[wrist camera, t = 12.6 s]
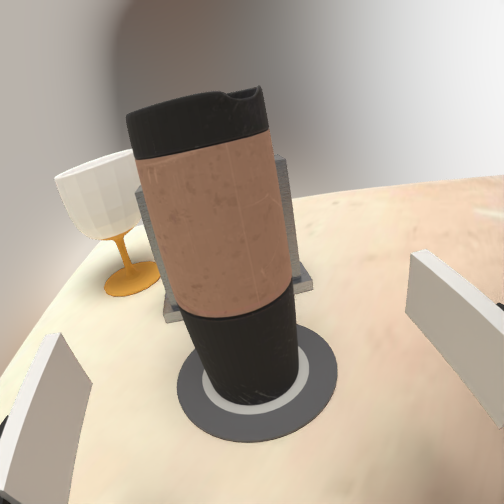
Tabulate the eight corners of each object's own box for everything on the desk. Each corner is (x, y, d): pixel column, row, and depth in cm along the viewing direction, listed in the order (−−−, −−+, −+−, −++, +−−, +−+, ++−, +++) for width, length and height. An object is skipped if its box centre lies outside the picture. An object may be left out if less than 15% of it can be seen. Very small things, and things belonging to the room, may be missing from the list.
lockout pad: (369, 364, 23) (370, 360, 23) (242, 476, 17) (241, 473, 17) (263, 307, 33) (262, 303, 33) (153, 374, 26) (151, 370, 26)
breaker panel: (301, 270, 38) (285, 151, 32) (315, 292, 34) (300, 159, 27) (168, 300, 37) (131, 186, 31) (166, 327, 32) (121, 199, 26)
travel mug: (208, 347, 28) (142, 113, 19) (293, 331, 28) (255, 88, 19) (207, 415, 21) (101, 119, 12) (312, 397, 21) (273, 80, 12)
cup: (162, 296, 38) (119, 158, 31) (84, 307, 39) (36, 186, 31) (178, 253, 49) (149, 143, 41) (111, 265, 49) (78, 164, 42)
